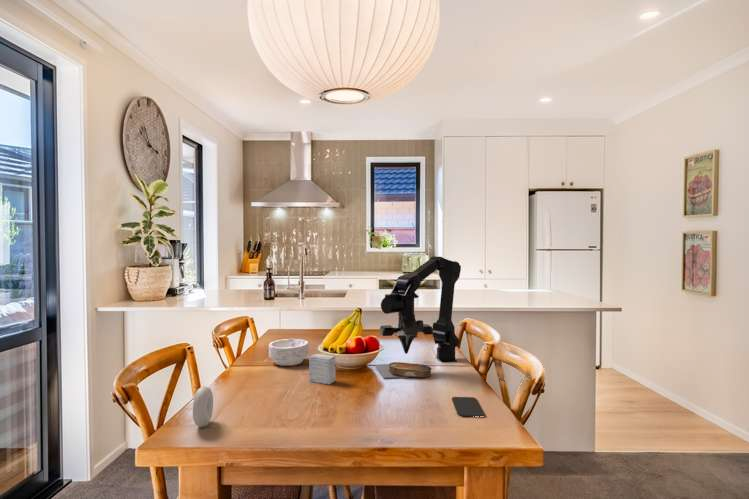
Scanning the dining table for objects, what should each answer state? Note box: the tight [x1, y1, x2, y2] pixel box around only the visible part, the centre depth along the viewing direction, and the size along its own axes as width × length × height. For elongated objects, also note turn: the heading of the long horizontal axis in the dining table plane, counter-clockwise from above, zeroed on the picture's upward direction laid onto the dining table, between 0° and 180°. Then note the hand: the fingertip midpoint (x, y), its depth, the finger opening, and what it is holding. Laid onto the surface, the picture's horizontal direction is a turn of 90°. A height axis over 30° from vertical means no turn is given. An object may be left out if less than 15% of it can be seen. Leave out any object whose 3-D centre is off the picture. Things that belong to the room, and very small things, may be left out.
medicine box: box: [308, 353, 336, 385], centre depth 155 cm, size 8×4×9 cm, turn 65°
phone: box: [451, 396, 486, 418], centre depth 132 cm, size 7×1×15 cm
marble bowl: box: [268, 338, 310, 367], centre depth 177 cm, size 15×15×8 cm
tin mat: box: [374, 363, 410, 380], centre depth 166 cm, size 9×16×1 cm, turn 11°
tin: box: [388, 361, 432, 379], centre depth 163 cm, size 15×3×8 cm
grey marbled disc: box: [192, 385, 214, 428], centre depth 118 cm, size 10×3×10 cm, turn 6°
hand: (406, 353), depth 167 cm, fingers closed
